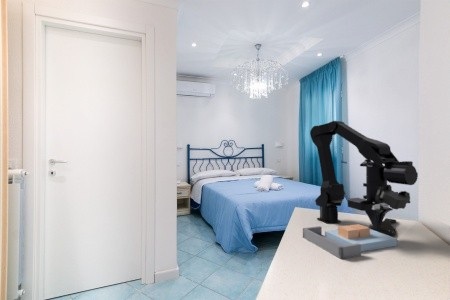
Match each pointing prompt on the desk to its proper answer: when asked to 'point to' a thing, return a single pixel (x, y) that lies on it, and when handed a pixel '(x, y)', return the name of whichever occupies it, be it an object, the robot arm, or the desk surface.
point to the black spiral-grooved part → (385, 227)
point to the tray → (331, 243)
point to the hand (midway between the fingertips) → (376, 228)
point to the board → (364, 240)
